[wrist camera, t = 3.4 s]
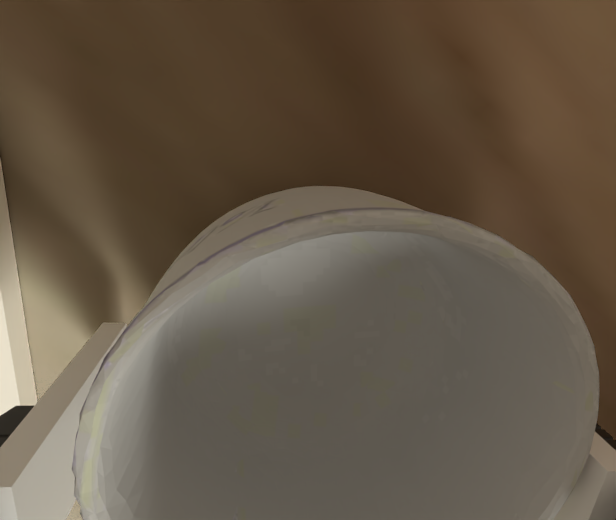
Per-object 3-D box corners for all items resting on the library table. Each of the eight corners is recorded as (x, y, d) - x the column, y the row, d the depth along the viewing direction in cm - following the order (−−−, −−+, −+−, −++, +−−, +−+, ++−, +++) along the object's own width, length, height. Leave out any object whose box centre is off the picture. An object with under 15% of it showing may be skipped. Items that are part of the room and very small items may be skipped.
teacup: (218, 118, 13) (154, 105, 5) (498, 226, 15) (734, 325, 8) (120, 452, 16) (-2, 726, 9) (357, 499, 19) (420, 752, 11)
